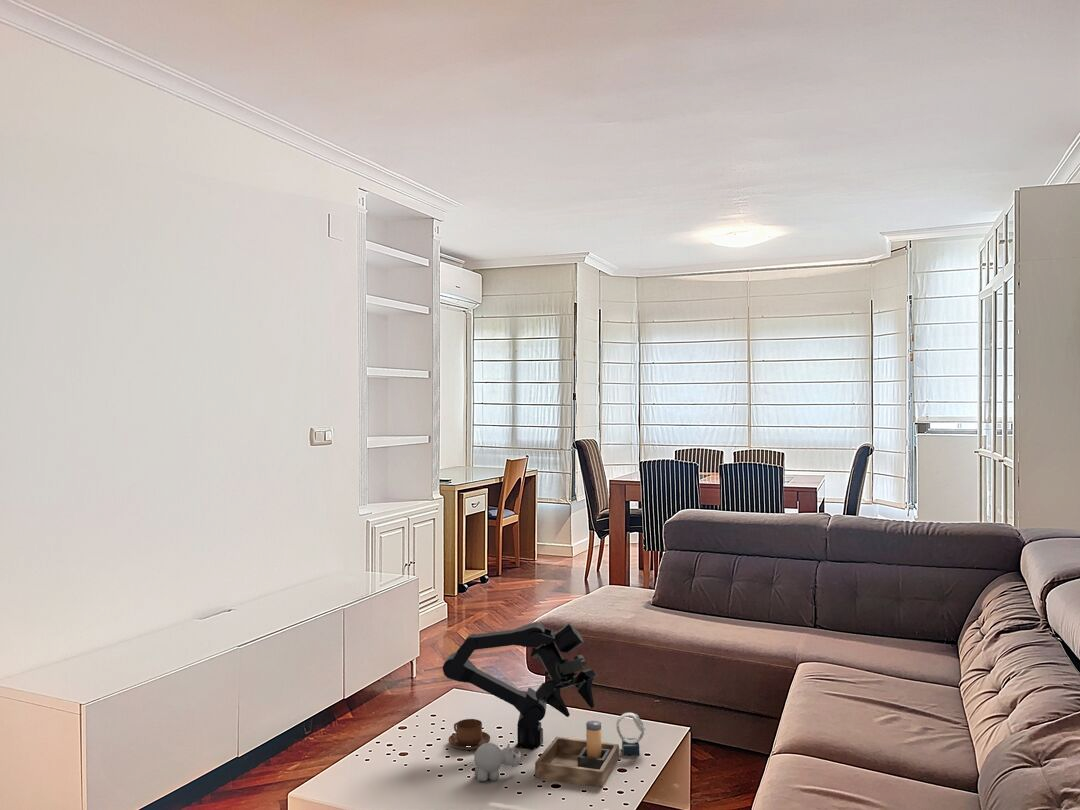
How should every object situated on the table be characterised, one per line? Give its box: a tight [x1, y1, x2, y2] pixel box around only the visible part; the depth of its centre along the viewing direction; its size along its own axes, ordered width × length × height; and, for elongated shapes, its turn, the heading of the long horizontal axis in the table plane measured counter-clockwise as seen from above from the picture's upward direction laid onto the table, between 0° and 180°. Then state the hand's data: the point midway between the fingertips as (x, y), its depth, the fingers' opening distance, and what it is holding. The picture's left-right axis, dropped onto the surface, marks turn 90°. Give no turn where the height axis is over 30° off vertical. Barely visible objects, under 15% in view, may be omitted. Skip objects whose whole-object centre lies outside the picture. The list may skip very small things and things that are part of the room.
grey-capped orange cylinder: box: [585, 720, 602, 759], centre depth 225 cm, size 4×4×11 cm
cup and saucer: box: [448, 718, 491, 751], centre depth 240 cm, size 12×12×6 cm
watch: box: [616, 712, 646, 756], centre depth 233 cm, size 6×8×11 cm
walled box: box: [534, 736, 620, 788], centre depth 222 cm, size 18×18×4 cm
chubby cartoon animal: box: [473, 742, 522, 782], centre depth 219 cm, size 8×12×9 cm, turn 103°
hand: (581, 711), depth 229 cm, fingers open, 9 cm apart
